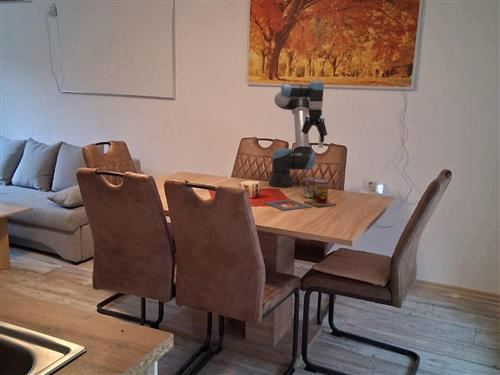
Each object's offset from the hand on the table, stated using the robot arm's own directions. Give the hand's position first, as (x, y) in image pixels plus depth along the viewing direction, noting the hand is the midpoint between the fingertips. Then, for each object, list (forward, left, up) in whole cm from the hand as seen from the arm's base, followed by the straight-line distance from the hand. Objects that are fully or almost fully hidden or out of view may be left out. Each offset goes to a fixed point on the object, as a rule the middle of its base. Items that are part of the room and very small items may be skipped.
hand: (313, 146), depth 270 cm
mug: (+4, -4, -29) cm, 29 cm away
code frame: (+16, -28, -29) cm, 43 cm away
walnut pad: (+21, -10, -29) cm, 37 cm away
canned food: (+21, -10, -28) cm, 36 cm away
